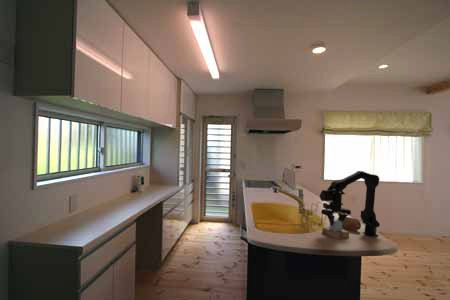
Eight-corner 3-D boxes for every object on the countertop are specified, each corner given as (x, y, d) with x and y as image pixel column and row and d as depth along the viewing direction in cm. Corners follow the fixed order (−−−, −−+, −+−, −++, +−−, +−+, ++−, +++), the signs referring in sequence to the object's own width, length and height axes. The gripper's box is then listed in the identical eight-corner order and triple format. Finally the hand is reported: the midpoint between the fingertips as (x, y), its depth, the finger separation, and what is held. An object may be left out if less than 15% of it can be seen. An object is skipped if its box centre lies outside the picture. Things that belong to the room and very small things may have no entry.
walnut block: (335, 232, 157) (335, 226, 157) (348, 238, 147) (349, 231, 147) (322, 233, 154) (322, 227, 154) (334, 239, 144) (334, 233, 144)
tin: (336, 226, 168) (337, 215, 168) (338, 226, 170) (338, 214, 170) (359, 232, 157) (360, 220, 157) (361, 231, 160) (361, 219, 160)
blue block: (335, 228, 154) (336, 218, 154) (341, 230, 149) (342, 221, 149) (329, 228, 152) (329, 219, 152) (335, 231, 147) (335, 221, 147)
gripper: (338, 198, 161) (337, 220, 161) (316, 198, 155) (315, 222, 155) (351, 201, 150) (351, 225, 150) (328, 202, 145) (327, 227, 145)
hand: (335, 225), depth 151 cm, fingers open, 6 cm apart
